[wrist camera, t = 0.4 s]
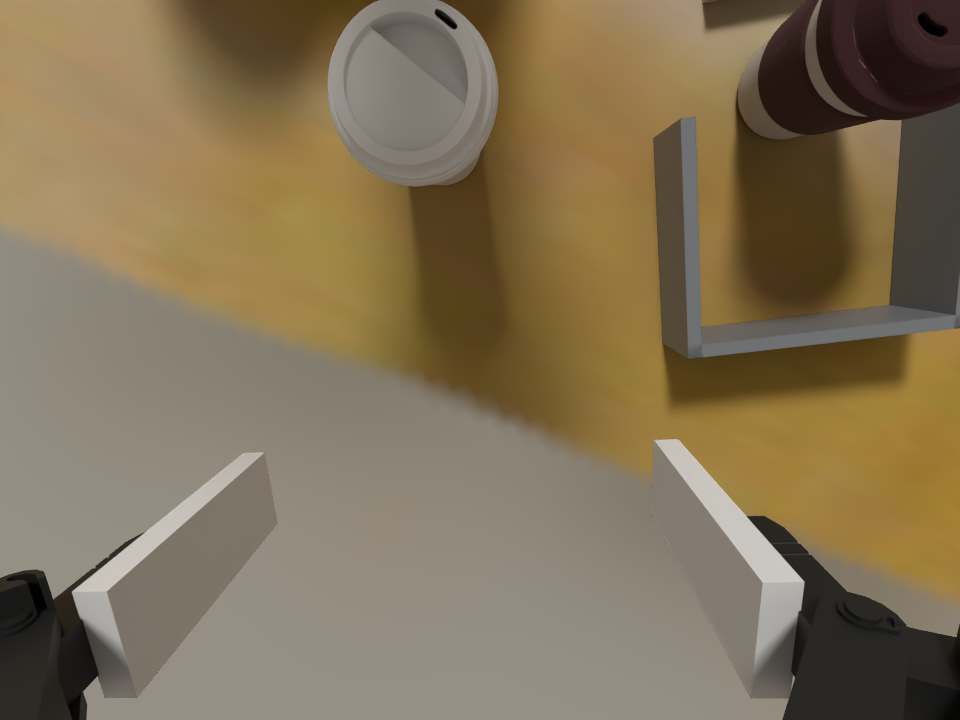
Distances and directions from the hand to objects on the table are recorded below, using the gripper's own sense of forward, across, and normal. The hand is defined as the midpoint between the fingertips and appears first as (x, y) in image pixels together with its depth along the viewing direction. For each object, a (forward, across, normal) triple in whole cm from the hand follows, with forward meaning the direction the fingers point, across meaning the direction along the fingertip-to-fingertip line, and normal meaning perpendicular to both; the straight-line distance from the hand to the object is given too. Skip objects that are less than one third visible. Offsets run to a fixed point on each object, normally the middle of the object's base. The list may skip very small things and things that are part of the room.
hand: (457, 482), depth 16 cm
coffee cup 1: (+28, -3, +16) cm, 32 cm away
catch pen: (+27, +25, +8) cm, 38 cm away
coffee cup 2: (+28, +24, +18) cm, 41 cm away
